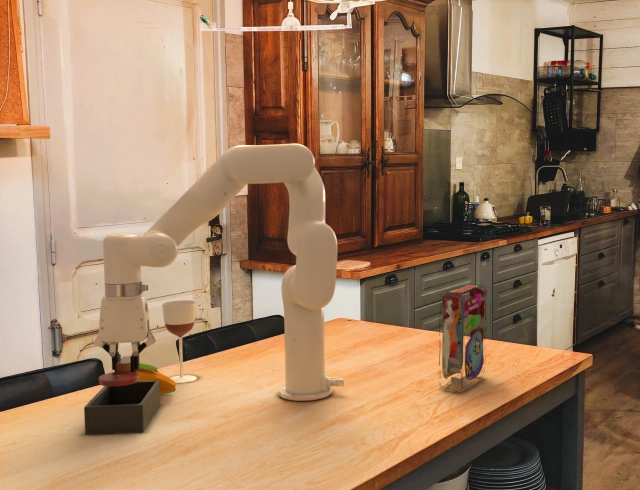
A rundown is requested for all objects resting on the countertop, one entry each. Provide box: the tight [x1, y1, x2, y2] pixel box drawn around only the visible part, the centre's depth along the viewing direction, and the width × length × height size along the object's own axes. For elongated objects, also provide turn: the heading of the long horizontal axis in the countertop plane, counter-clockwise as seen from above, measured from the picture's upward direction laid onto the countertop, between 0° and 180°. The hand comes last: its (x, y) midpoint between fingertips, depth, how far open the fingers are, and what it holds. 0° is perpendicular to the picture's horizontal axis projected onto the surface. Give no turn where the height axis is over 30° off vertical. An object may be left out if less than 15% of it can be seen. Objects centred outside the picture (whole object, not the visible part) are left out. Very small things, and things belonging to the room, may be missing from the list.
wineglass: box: [162, 299, 198, 384], centre depth 201 cm, size 8×9×20 cm
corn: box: [136, 362, 177, 395], centre depth 188 cm, size 7×8×20 cm
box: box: [438, 284, 489, 394], centre depth 198 cm, size 25×6×24 cm, turn 153°
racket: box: [98, 355, 139, 387], centre depth 168 cm, size 8×15×3 cm, turn 7°
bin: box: [83, 381, 162, 436], centre depth 169 cm, size 12×19×6 cm, turn 7°
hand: (126, 372), depth 171 cm, fingers closed on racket, 2 cm apart
